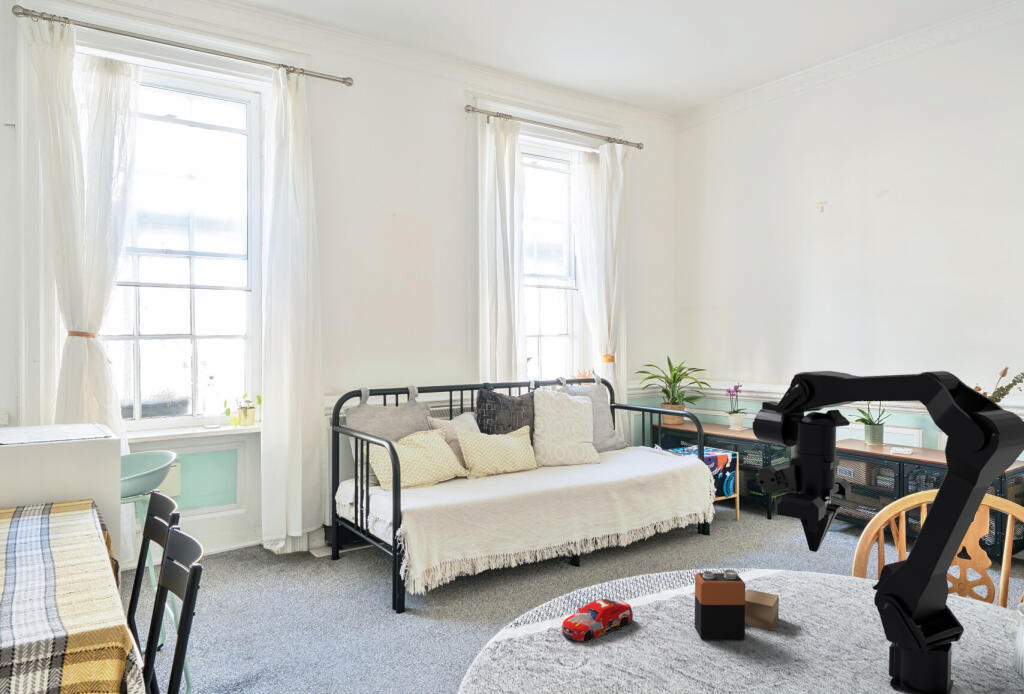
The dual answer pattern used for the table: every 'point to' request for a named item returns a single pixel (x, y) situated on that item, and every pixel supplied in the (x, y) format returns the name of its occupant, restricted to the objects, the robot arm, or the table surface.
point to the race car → (597, 619)
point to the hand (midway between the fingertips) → (813, 550)
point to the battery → (720, 605)
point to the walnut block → (761, 609)
